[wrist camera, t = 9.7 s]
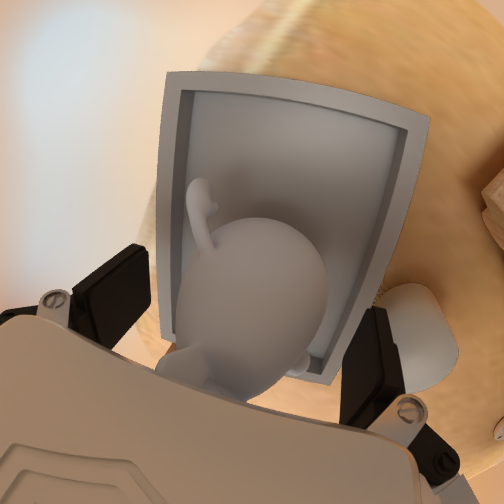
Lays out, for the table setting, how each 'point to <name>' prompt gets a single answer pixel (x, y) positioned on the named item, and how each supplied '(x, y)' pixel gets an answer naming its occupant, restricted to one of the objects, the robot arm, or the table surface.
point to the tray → (289, 183)
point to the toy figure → (244, 303)
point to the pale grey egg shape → (419, 335)
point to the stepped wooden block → (495, 208)
